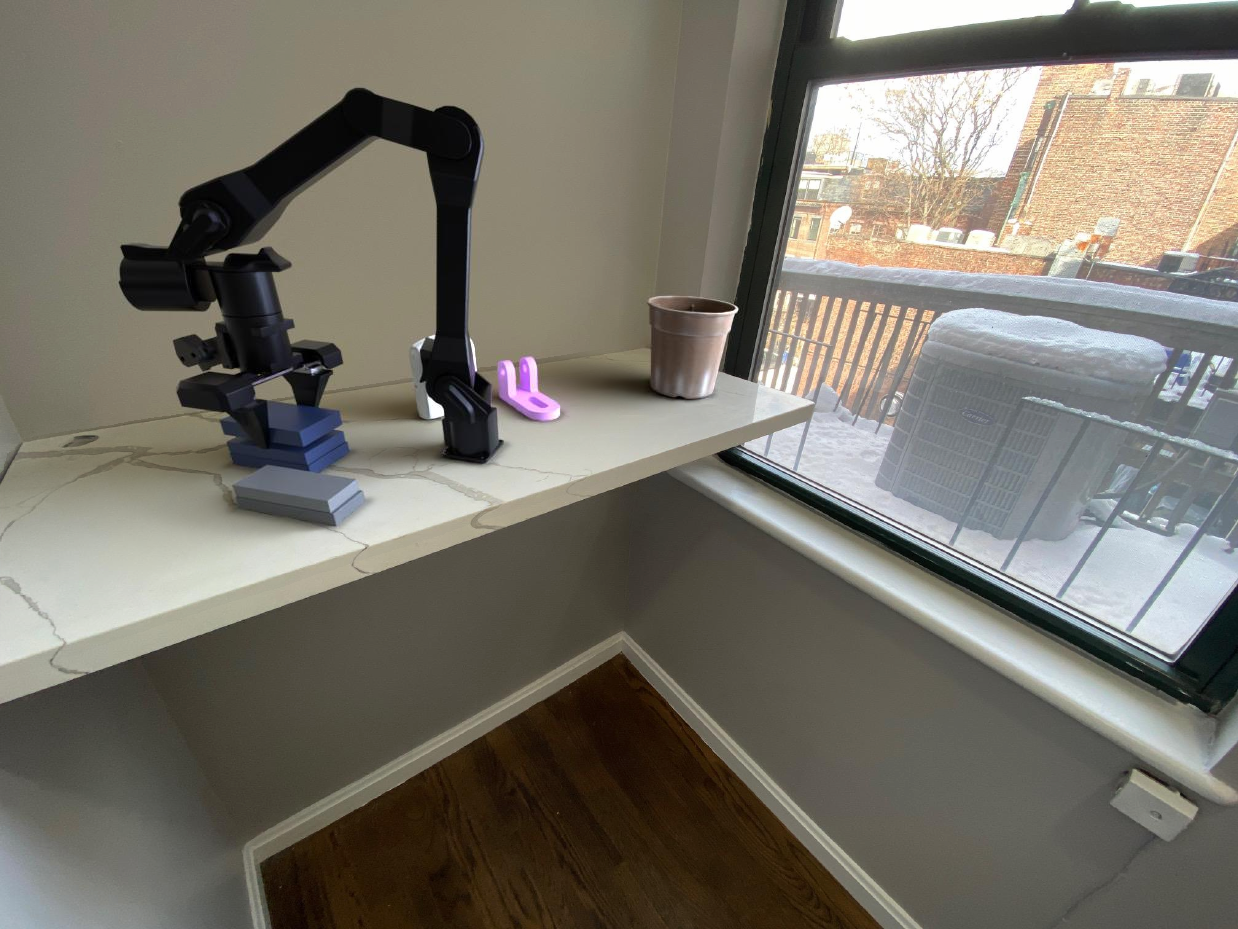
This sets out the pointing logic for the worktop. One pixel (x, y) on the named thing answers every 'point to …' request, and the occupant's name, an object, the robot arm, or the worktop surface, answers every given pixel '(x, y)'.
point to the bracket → (525, 390)
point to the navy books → (290, 453)
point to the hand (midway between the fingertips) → (287, 436)
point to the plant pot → (687, 343)
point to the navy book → (291, 423)
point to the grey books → (299, 494)
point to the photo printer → (424, 402)
